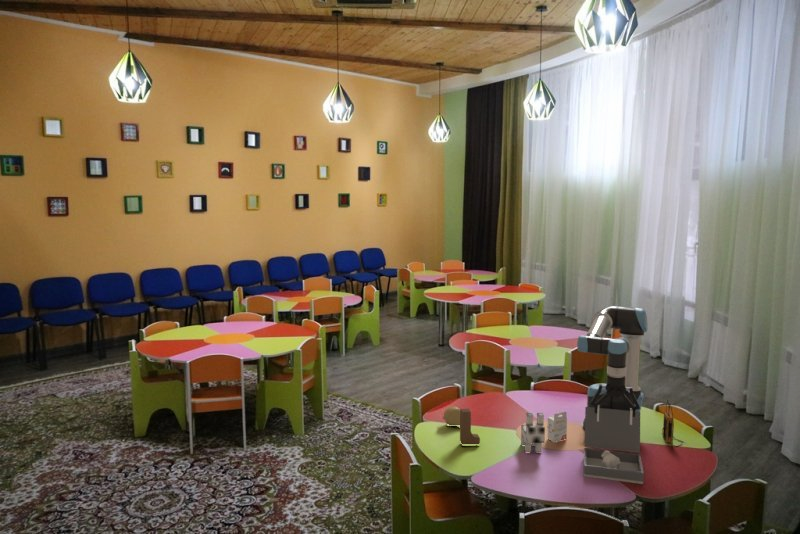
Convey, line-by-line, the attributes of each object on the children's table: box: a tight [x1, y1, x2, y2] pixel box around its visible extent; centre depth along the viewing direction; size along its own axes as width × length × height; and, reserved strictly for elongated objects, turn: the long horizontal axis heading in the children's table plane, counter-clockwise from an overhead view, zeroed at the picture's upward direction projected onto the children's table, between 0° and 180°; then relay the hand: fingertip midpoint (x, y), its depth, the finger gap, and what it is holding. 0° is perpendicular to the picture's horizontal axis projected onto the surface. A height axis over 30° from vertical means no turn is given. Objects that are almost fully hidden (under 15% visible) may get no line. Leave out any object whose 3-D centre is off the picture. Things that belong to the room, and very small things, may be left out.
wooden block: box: [459, 408, 481, 444], centre depth 286 cm, size 9×4×18 cm, turn 97°
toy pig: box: [442, 405, 461, 425], centre depth 309 cm, size 10×12×11 cm
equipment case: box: [583, 447, 645, 485], centre depth 259 cm, size 24×18×5 cm
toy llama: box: [520, 412, 546, 453], centre depth 280 cm, size 8×18×20 cm, turn 1°
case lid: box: [583, 406, 641, 454], centre depth 271 cm, size 24×18×2 cm
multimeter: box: [661, 399, 687, 448], centre depth 288 cm, size 15×10×20 cm
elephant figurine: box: [601, 449, 623, 468], centre depth 259 cm, size 8×10×7 cm
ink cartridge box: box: [547, 411, 568, 443], centre depth 291 cm, size 9×5×15 cm, turn 117°
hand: (614, 422), depth 257 cm, fingers open, 13 cm apart
